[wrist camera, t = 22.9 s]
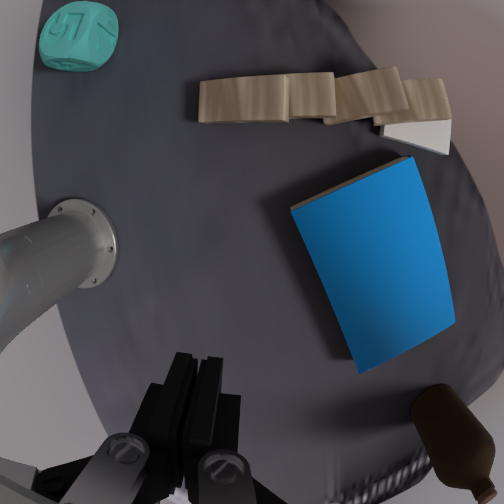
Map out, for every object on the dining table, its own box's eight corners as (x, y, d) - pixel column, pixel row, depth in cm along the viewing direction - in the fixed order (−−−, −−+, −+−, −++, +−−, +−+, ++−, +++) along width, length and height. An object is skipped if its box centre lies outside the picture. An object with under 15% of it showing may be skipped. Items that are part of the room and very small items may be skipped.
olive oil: (411, 389, 46) (472, 497, 21) (459, 374, 45) (528, 464, 21) (402, 428, 48) (447, 528, 24) (448, 413, 48) (500, 500, 24)
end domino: (383, 135, 34) (448, 154, 34) (387, 97, 33) (451, 119, 33) (377, 136, 36) (440, 155, 36) (381, 100, 35) (444, 121, 35)
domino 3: (323, 123, 33) (408, 107, 28) (313, 83, 32) (396, 66, 27) (328, 125, 35) (408, 110, 30) (318, 87, 34) (397, 71, 29)
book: (359, 375, 40) (288, 213, 34) (352, 358, 45) (284, 208, 39) (459, 320, 38) (416, 153, 32) (446, 308, 42) (401, 153, 36)
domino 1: (198, 122, 34) (283, 119, 30) (200, 81, 32) (284, 74, 29) (207, 123, 35) (288, 122, 32) (208, 84, 34) (289, 79, 30)
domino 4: (374, 123, 32) (452, 117, 29) (365, 83, 31) (442, 78, 28) (373, 126, 34) (447, 120, 31) (364, 88, 33) (438, 82, 30)
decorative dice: (108, 71, 33) (80, 55, 26) (63, 73, 33) (30, 60, 25) (124, 20, 31) (100, -3, 24) (78, 24, 31) (50, 5, 23)
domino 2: (245, 118, 34) (335, 115, 30) (244, 77, 32) (333, 72, 29) (251, 120, 35) (336, 118, 32) (250, 82, 34) (334, 77, 31)
